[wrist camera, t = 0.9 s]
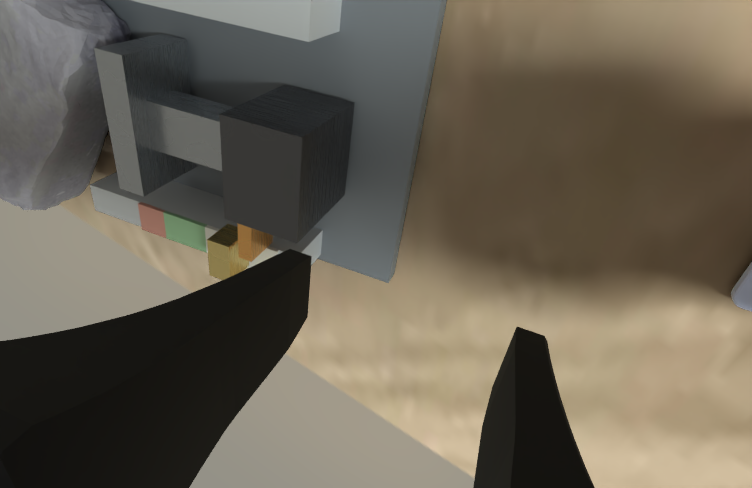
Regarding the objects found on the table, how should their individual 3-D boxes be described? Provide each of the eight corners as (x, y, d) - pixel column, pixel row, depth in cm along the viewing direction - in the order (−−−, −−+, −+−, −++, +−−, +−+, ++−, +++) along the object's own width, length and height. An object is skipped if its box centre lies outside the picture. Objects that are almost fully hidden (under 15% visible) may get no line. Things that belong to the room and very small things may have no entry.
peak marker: (248, 230, 20) (228, 247, 19) (249, 264, 21) (230, 282, 20) (228, 223, 20) (206, 239, 19) (229, 257, 21) (209, 275, 20)
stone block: (3, 79, 29) (94, 212, 27) (-105, 81, 25) (-4, 236, 24) (39, -121, 22) (164, 47, 20) (-104, -161, 18) (40, 43, 17)
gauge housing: (447, -5, 17) (419, 5, 14) (394, 273, 23) (368, 316, 21) (94, -74, 20) (17, -77, 17) (136, 186, 27) (85, 214, 24)
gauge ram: (357, 81, 18) (303, 112, 15) (340, 234, 22) (294, 286, 18) (163, 33, 20) (77, 51, 17) (179, 181, 24) (111, 220, 20)
